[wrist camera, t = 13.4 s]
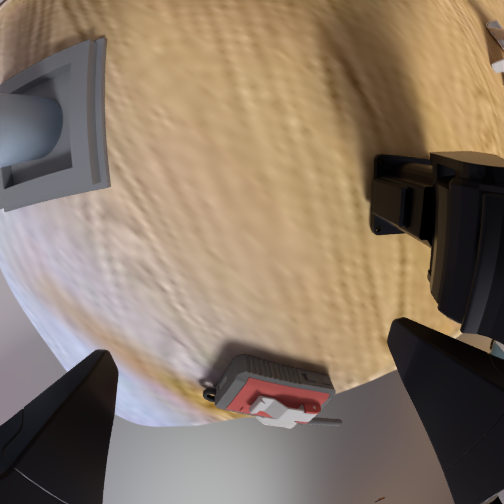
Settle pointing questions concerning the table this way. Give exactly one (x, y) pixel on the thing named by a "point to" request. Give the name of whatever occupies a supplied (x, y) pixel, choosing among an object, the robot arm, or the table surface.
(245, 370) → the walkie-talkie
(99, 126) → the grey square recessed dock
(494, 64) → the portable electronic device stand
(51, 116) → the blue-grey rounded knob
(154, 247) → the table surface
